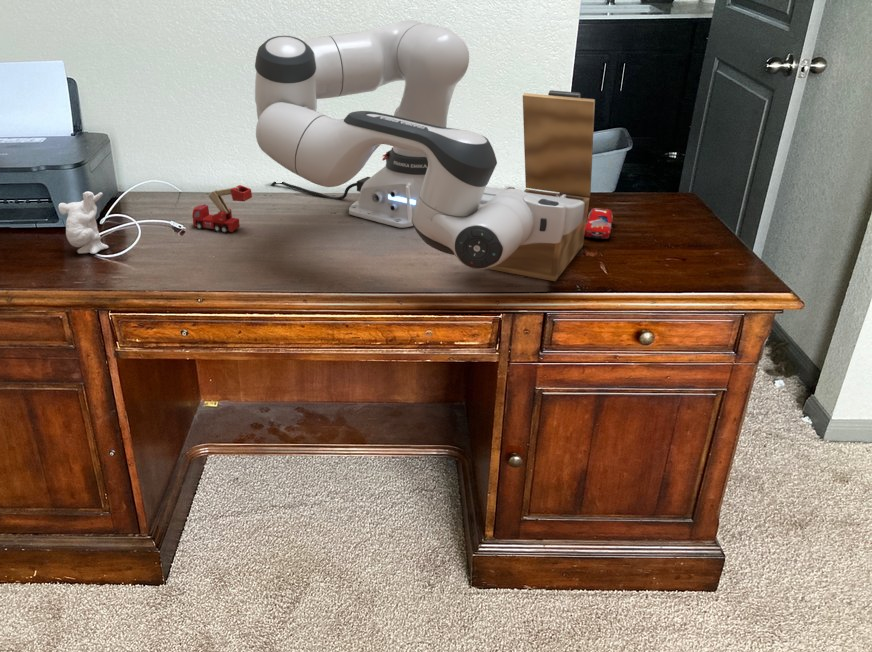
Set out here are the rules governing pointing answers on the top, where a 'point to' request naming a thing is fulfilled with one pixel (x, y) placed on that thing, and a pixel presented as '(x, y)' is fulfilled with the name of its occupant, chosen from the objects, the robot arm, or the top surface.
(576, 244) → the chest
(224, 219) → the toy fire truck
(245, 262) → the top surface
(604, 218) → the race car
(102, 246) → the koala figurine
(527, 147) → the chest lid
